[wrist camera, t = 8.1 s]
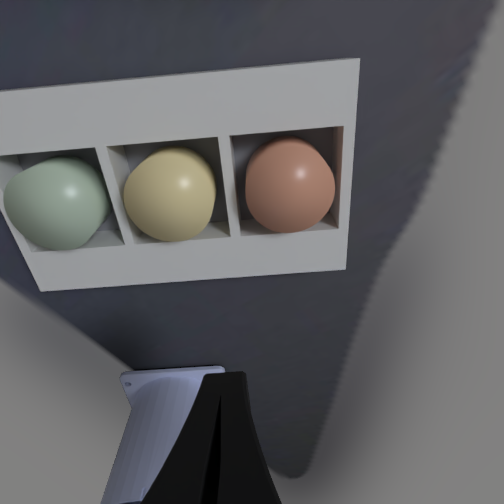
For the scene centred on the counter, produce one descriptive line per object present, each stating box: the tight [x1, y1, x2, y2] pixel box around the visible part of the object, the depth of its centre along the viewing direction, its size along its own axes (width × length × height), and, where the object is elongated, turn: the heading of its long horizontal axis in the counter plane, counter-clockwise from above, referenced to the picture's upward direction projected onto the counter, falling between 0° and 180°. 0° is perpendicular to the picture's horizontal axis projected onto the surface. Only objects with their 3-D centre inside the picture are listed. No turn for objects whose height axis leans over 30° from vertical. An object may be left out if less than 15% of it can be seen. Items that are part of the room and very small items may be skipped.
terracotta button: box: [245, 136, 335, 233], centre depth 16 cm, size 4×4×2 cm
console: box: [0, 58, 360, 291], centre depth 17 cm, size 10×17×3 cm, turn 95°
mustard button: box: [124, 146, 217, 242], centre depth 16 cm, size 4×4×2 cm
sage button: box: [3, 155, 113, 250], centre depth 17 cm, size 4×4×2 cm
